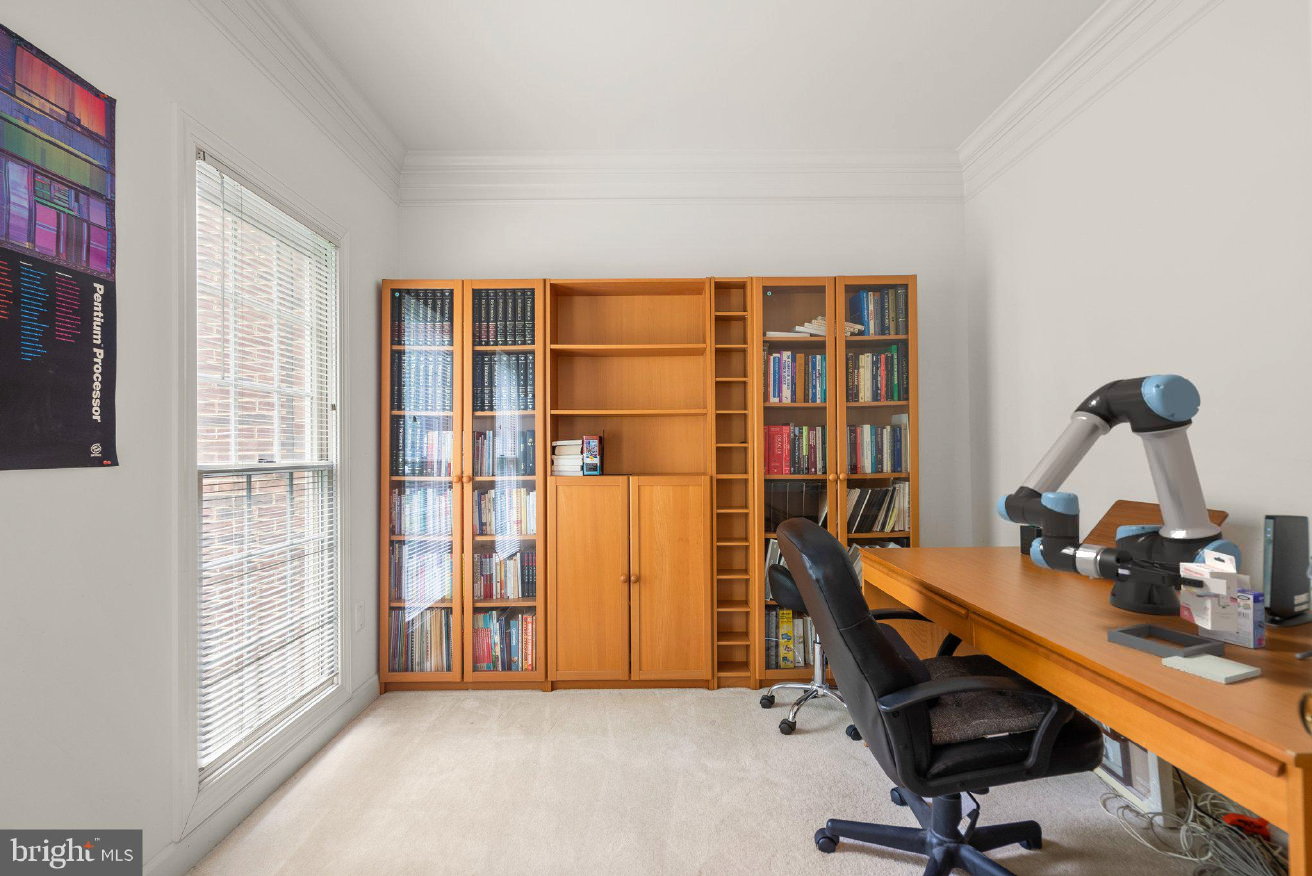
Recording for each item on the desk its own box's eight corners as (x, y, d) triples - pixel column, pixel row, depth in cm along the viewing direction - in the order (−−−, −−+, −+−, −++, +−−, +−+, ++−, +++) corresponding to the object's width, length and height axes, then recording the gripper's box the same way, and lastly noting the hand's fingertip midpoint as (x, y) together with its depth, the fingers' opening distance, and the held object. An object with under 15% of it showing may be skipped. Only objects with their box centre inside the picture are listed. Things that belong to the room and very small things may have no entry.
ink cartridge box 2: (1267, 646, 125) (1266, 582, 125) (1255, 650, 123) (1254, 585, 123) (1209, 633, 134) (1208, 573, 134) (1197, 636, 132) (1196, 575, 132)
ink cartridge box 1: (1178, 617, 117) (1177, 547, 118) (1205, 618, 116) (1205, 548, 117) (1209, 630, 109) (1208, 555, 109) (1239, 632, 108) (1238, 556, 108)
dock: (1147, 633, 134) (1147, 623, 134) (1224, 654, 121) (1224, 642, 121) (1107, 640, 129) (1107, 630, 129) (1183, 663, 116) (1183, 651, 116)
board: (1197, 656, 119) (1197, 651, 119) (1260, 674, 110) (1260, 668, 110) (1162, 664, 115) (1161, 658, 115) (1224, 684, 106) (1224, 677, 106)
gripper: (1131, 574, 134) (1263, 598, 113) (1078, 583, 125) (1212, 611, 104) (1130, 543, 134) (1263, 561, 113) (1078, 550, 125) (1211, 571, 104)
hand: (1238, 585), depth 109 cm, fingers closed on ink cartridge box 1, 9 cm apart
